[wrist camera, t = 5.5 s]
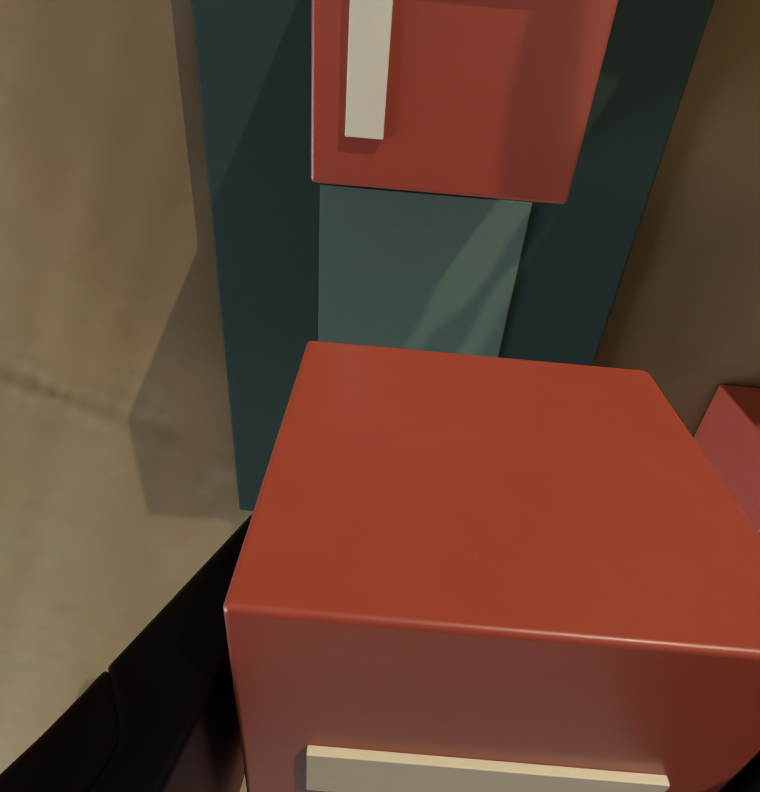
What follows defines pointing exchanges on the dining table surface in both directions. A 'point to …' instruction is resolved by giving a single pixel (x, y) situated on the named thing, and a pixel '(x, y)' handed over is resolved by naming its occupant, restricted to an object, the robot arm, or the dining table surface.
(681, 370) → the dining table surface
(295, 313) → the word mat
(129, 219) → the dining table surface
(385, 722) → the red box-shaped block
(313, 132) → the letter L
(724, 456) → the letter T
